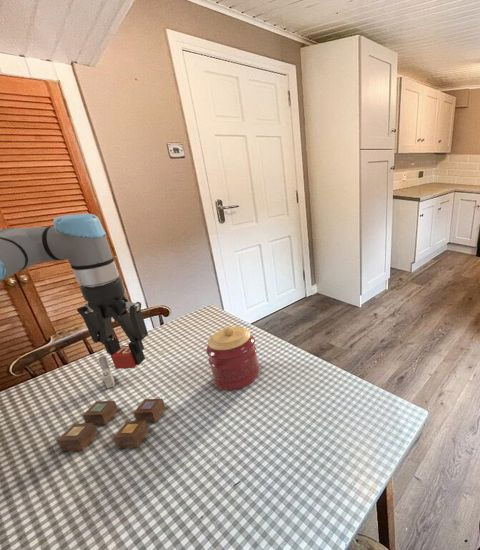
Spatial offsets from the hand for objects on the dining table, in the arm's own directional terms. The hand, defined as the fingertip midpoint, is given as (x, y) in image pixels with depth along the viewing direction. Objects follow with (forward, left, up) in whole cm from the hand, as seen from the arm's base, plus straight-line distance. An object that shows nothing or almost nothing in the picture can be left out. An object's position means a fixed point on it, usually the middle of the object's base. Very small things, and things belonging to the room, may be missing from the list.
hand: (130, 362), depth 80 cm
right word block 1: (+7, -14, -12) cm, 20 cm away
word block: (-5, -14, -12) cm, 19 cm away
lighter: (-13, +7, -12) cm, 20 cm away
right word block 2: (+7, -7, -12) cm, 16 cm away
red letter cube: (0, 0, 0) cm, 0 cm away
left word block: (-5, -7, -12) cm, 15 cm away
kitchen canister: (+24, +7, -12) cm, 28 cm away
